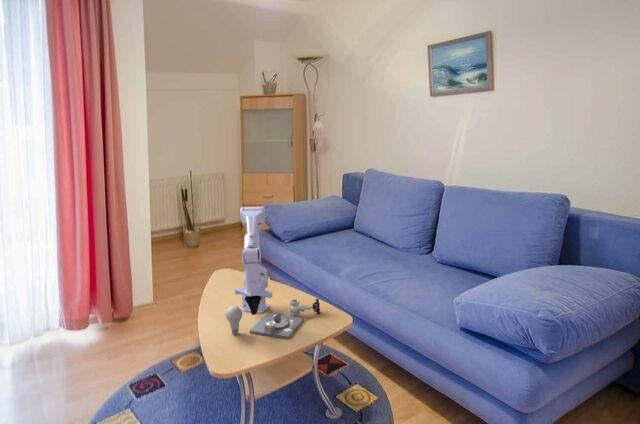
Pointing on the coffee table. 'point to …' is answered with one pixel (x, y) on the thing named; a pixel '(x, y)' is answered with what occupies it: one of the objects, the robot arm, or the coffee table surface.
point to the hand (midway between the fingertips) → (254, 313)
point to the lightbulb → (234, 318)
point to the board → (282, 332)
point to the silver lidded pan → (275, 323)
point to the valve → (302, 307)
